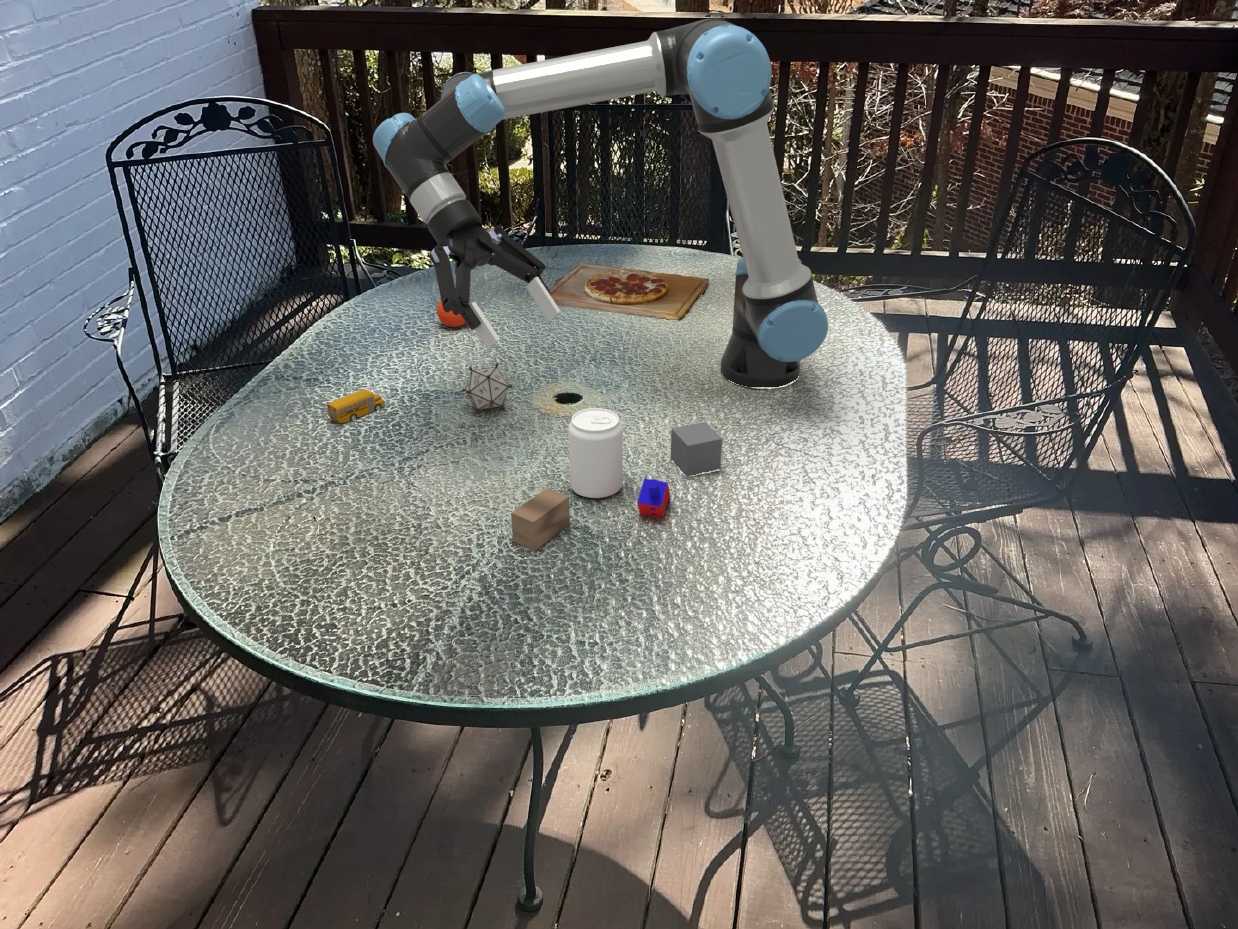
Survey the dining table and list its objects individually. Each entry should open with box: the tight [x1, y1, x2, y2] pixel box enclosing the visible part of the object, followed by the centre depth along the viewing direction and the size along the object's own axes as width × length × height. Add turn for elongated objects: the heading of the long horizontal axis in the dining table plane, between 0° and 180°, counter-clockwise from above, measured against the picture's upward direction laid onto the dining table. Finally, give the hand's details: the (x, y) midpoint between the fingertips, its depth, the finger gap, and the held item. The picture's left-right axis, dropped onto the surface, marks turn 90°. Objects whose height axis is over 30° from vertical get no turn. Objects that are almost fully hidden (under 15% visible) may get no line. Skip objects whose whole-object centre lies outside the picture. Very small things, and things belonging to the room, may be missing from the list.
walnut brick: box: [510, 487, 571, 552], centre depth 134 cm, size 8×4×5 cm, turn 145°
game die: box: [460, 362, 514, 415], centre depth 166 cm, size 9×8×10 cm
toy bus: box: [326, 388, 385, 424], centre depth 165 cm, size 3×10×4 cm, turn 139°
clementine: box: [436, 299, 466, 328], centre depth 198 cm, size 8×7×7 cm
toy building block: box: [636, 478, 671, 519], centre depth 138 cm, size 4×4×8 cm
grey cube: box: [670, 421, 723, 478], centre depth 150 cm, size 6×6×6 cm
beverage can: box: [567, 407, 623, 499], centre depth 142 cm, size 8×8×12 cm
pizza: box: [548, 262, 710, 321], centre depth 217 cm, size 35×28×4 cm
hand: (525, 330), depth 141 cm, fingers open, 13 cm apart
